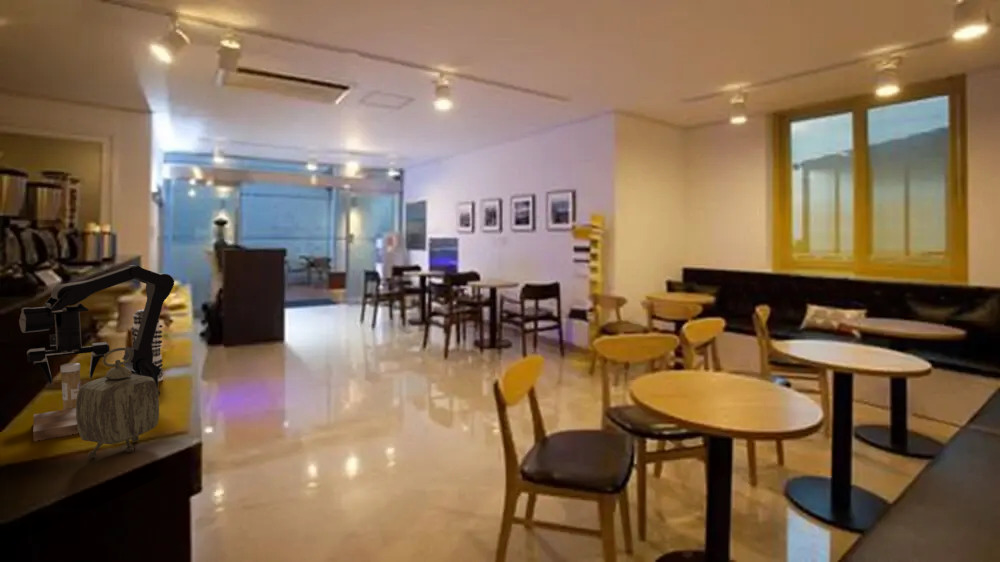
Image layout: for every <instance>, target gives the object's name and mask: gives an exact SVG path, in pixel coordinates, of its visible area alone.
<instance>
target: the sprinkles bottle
mask: <svg viewBox="0 0 1000 562" xmlns="http://www.w3.org/2000/svg"><path fill="white" fill-rule="evenodd" d="M59 369H60V371H59V372H60V373H61V391H62V392H61V393H62V395H61V396H62V402H63V404H62V405H63V408H62V410H66V409H72V408H76V400H77V394H78V391H79V388H80V387H81V386H82V383H81V364H80V363H79V362H70V363H64V364H61V365H60V368H59Z"/></svg>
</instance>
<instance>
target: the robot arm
mask: <svg viewBox="0 0 1000 562" xmlns="http://www.w3.org/2000/svg"><path fill="white" fill-rule="evenodd" d="M131 280H136V281H138V282H141V283H143V284H145V294H146V303H145V305H144V312H143V316H142V320H141V323H140V327H139V330H138V334H137V338H136V341H135V343H134V344H133V343H132V346H131V347H129V346H125V348H127V349H129V350H130V351H131V353H132V357H131V359H130V360H129V361H128V362H127V363H125V364H123V365H124V367H126V368H128V369H129V370H130V372H131V375H140V376H148V377H152V378H153V379H154V381H155V382H156V385H157V388H158V389H159V381H158V376H159V375H160V372H161V369H160V368H159V367H157V366H156V365H154V364H153V350H152V342H153V338H154V335H155V331H156V327H157V324H158V320H159V321H160V316H161V312H162V308H163V305H164V302H165V301H166V299H167V298H168V297H169V296H170V295H171V292H172V290H173V289H174V285H175V279H174V278H173V276H171V275H170V274H168V273H167V274H166V273H160V272H154V271H151V270H149V269H146V268H144V267H141V266H139V265H135V264H130V265H129V264H128V265H127V266H125V267H122V268H120V269H116V270H114V271H110V272H108V273H104V274H102V275H99V276H96V277H93V278H90V279H86V280H81V281H74V282H68V283H62V284H58V285H56V286H54V287H52V290H51V292H50V297H49V298H48V299H47V301H45V302H44V303H43V305H42V306H40V307H22V308H21V313H20V315H19V319H18V324H19V327H20V331H21V332H22V334H23V333H24V334H26V333H34V332H43V331H49V330H51V328H54V326H55V334H49V346H50V347H55V348H56V349H50V350H46V348H45V347H39V348H30V349H28V350H27V352H26V359H27V363H33V365H37V366H39V367H40V369H41V370H42V371H43V372H44V375H45V377H46V378H47V380H48V382H49V385H50V384H52V383H53V381H52V374H51V373H52V372H51V370H50V366H49V361H48V358H49V357H51V358H52V357H60V356H69V355H78V354H80V355H81V354H88V353H89V354H90V364H89V366H90V367H89V379H92V378H93V376H94V373H95V370H96V367H97V365H98V363H99V361H100V360H101V358H104V356H105V354H106V353H107V352H109V351H110V350H111V349H110V345H109V343H108V342H107V341H103V342H101V341H100V342H92V343H91V346H90V345H88V346H82V330H81V312H82V313H83V312H88V311H89V308H87V307H86V306H85V305H84V304H82V303H80V302H82V301H84V300H86V299H87V298H89V297H91V295H93V294H95V293H98V292H100V291H103V290H106V289H108V288H111V287H115V286H117V285H120V284H123V283H125V282H128V281H131ZM129 356H130V354H129V353H128V352H127V351H124V355H123V357H122V361H125V360H127V359H128V358H129ZM158 395H160V390H158Z"/></svg>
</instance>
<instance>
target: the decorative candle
mask: <svg viewBox="0 0 1000 562" xmlns="http://www.w3.org/2000/svg"><path fill="white" fill-rule="evenodd" d="M144 309H145V308H144ZM144 309H138V310H136V311H135V313H133V314H132V318H133V323H132V325H133V326H132V327H130V330H131V335H132V336H133V337H131V340H132V341H133V342H132V345H133V344H134V343H135V341H136V338H137V334H138V330H139V327H140V323H141V320H142V316H143V312H144ZM161 328H163V325H161V322H160V319H159V320H158V324H157V327H156V331H155V335H154V338H153V342H152V350H153V364H154V365H156V366H157V367H159V368H160V369H161V372H160V375H159V376H158V382H161V381H163V380H164V377H163V376H164V373H163V372H164V368H162V367H163V365H164V364H163V363H162V362H164V361H163V360H164V359H162V354H161V352H162V351H161V348H162V347H163V345H162V343H163V340H161V338H163V335H162V334H163V331H162V330H161Z"/></svg>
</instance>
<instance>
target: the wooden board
mask: <svg viewBox="0 0 1000 562" xmlns="http://www.w3.org/2000/svg"><path fill="white" fill-rule="evenodd" d="M32 426H33V429H32V430H33V431H32V436H33V442H39V441H38V440H40V441H44V440H45V439H46V440H52V439H54V438H55V439H56V437H57V438H61V437H67V435H68V436H73V435H72V434H74V435H79V434H78V433H79V432H78V427H77V420H76V408H72V409H66V410H63V409H61V410H53V411H47V412H42V413H40V412H39V413H34V414H33V425H32Z"/></svg>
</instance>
